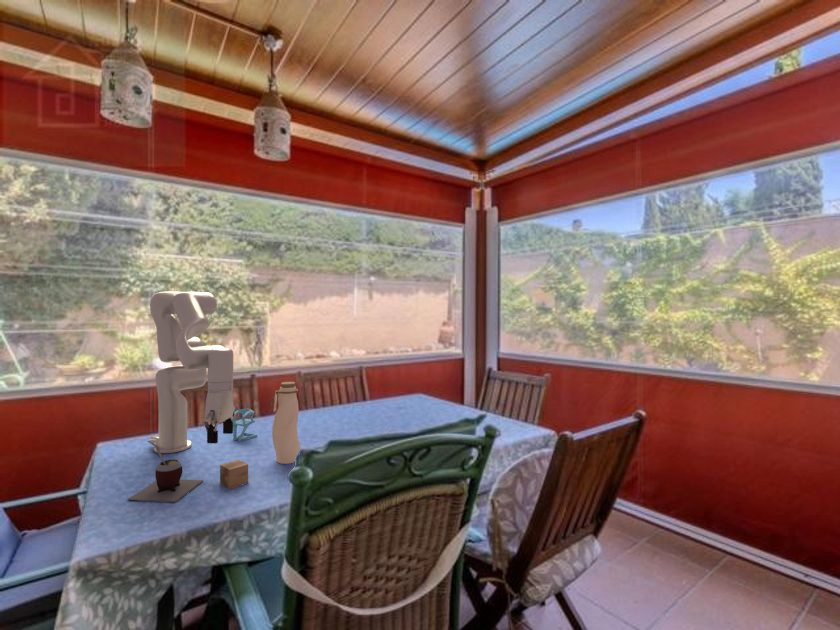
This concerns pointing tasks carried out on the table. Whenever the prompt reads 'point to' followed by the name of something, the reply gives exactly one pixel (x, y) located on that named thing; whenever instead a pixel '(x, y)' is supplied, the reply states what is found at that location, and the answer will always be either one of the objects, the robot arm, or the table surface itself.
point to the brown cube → (233, 474)
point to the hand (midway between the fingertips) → (220, 438)
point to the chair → (243, 424)
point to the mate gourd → (167, 473)
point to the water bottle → (286, 423)
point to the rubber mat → (166, 492)
